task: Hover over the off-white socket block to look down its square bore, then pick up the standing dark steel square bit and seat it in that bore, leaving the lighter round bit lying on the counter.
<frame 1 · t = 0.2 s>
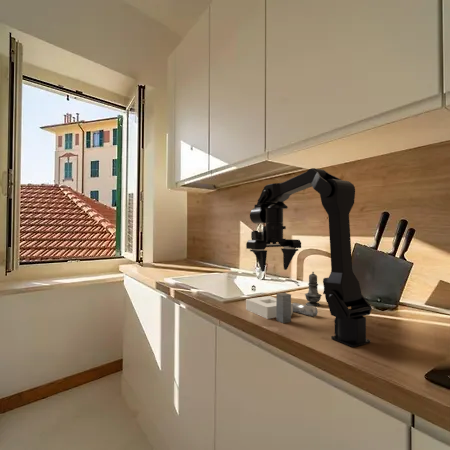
hand: (274, 270, 97), 14 cm above the worktop, tool pointing down, fingers open, 9 cm apart
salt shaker: (313, 305, 106), on the worktop
round bit: (304, 314, 95), on the worktop
square bit: (283, 321, 87), on the worktop
socket block: (268, 311, 97), on the worktop
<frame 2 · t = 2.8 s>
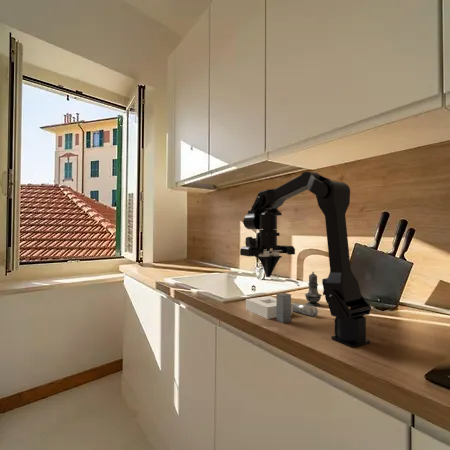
hand: (268, 276, 97), 11 cm above the worktop, tool pointing down, fingers closed
nothing on the worktop moved.
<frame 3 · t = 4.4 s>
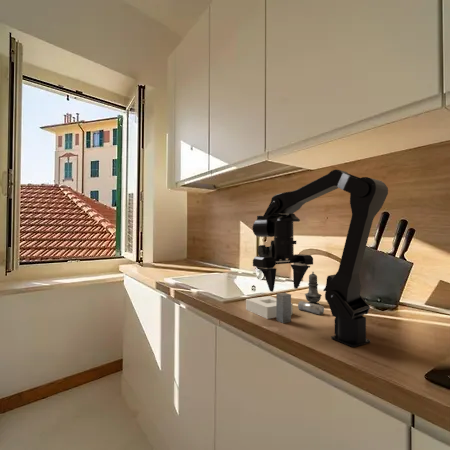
hand: (283, 289, 87), 9 cm above the worktop, tool pointing down, fingers open, 9 cm apart
round bit: (309, 304, 97), point 2 cm above the worktop, tilted 143°
everything else where it was.
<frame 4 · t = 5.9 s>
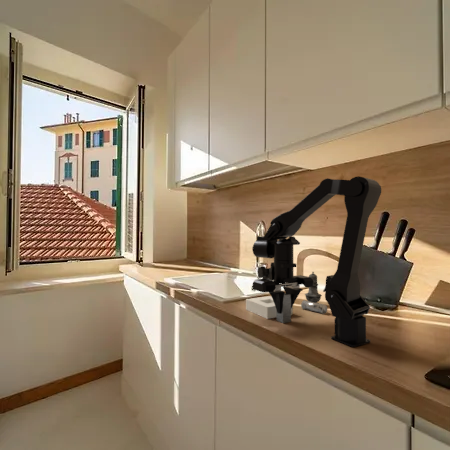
hand: (283, 312, 87), 3 cm above the worktop, tool pointing down, fingers closed on square bit, 3 cm apart
round bit: (315, 302, 99), point 2 cm above the worktop, tilted 144°
square bit: (283, 321, 87), on the worktop, touching gripper
everything else where it was.
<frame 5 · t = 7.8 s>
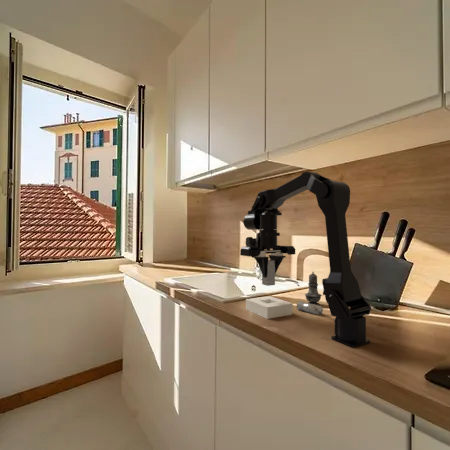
hand: (268, 277, 97), 11 cm above the worktop, tool pointing down, fingers closed on square bit, 3 cm apart
round bit: (306, 306, 96), point 2 cm above the worktop, tilted 115°
square bit: (268, 284, 97), point 9 cm above the worktop, touching gripper
everything else where it was.
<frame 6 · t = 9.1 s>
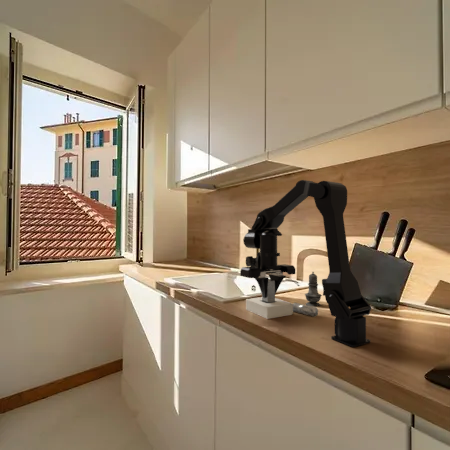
hand: (268, 297, 97), 5 cm above the worktop, tool pointing down, fingers closed on square bit, 3 cm apart
round bit: (304, 314, 95), on the worktop
square bit: (268, 304, 97), point 2 cm above the worktop, touching gripper
everything else where it was.
when the fingers open (4 cm above the worktop, at t = 9.5 s): square bit drops 2 cm, resting in socket block.
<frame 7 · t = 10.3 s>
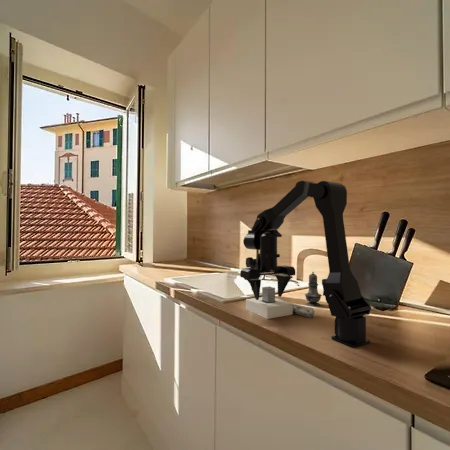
hand: (268, 298, 97), 4 cm above the worktop, tool pointing down, fingers open, 9 cm apart
round bit: (303, 310, 95), point 1 cm above the worktop, tilted 76°
square bit: (268, 312, 97), resting in socket block
everything else where it was.
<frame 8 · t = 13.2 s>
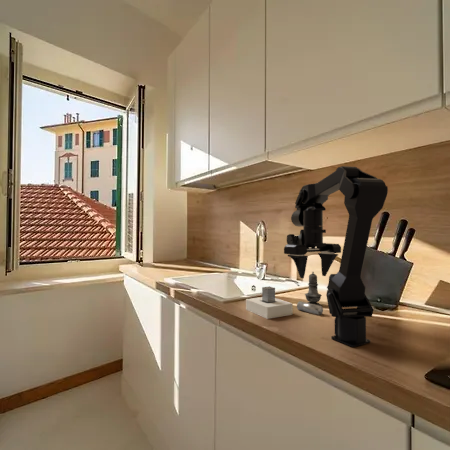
hand: (313, 277, 90), 13 cm above the worktop, tool pointing down, fingers open, 9 cm apart
round bit: (307, 306, 96), point 2 cm above the worktop, tilted 116°
everything else where it was.
at the end: square bit 0.0 cm off-centre on the socket block, point 0.0 cm above the socket block's base; square bit tilted 0°; the gripper is holding nothing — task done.
